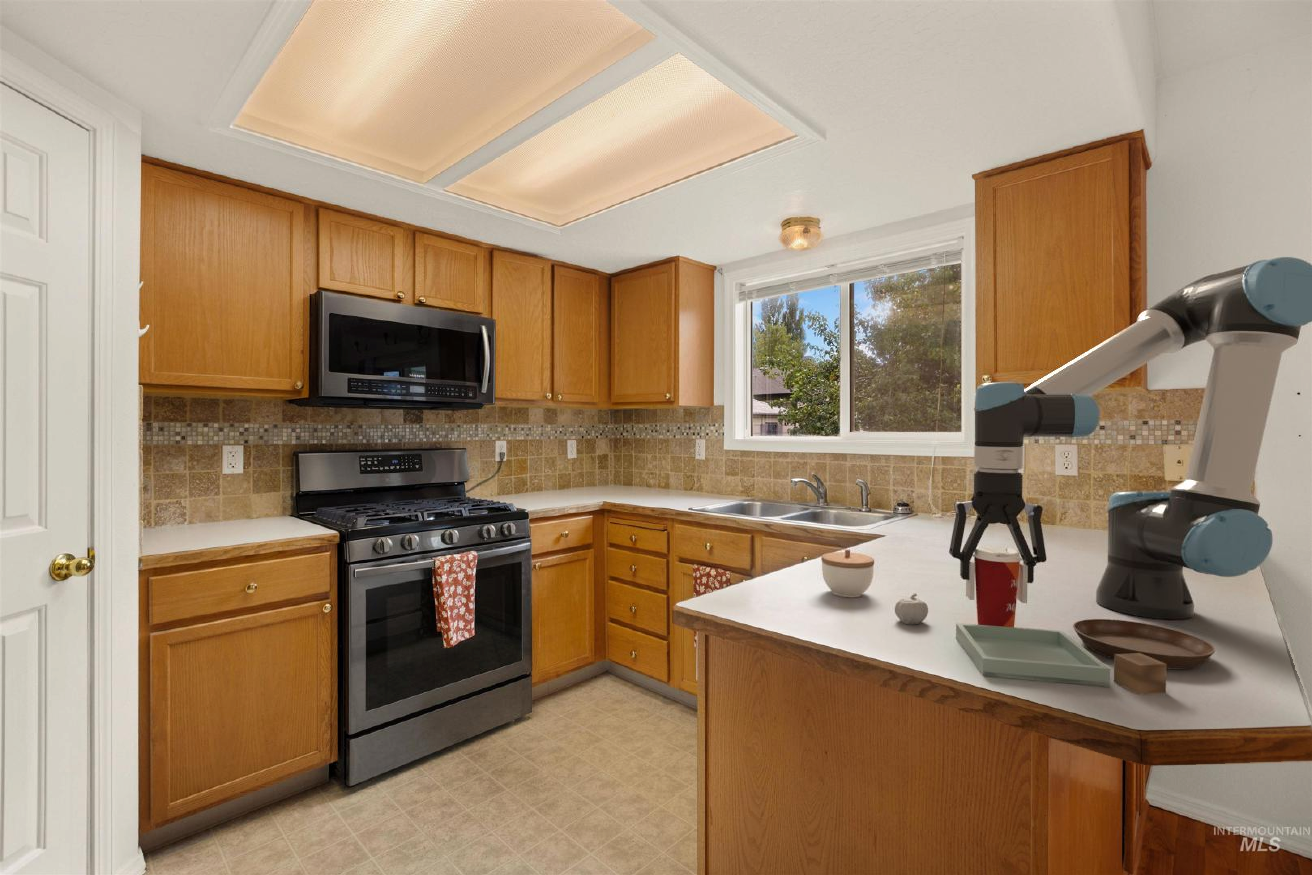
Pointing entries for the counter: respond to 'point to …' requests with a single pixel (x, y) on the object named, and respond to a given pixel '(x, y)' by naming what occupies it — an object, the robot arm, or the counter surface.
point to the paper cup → (996, 585)
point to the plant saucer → (1144, 642)
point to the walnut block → (1140, 673)
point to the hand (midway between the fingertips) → (995, 599)
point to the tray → (1031, 655)
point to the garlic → (911, 610)
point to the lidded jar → (847, 573)
